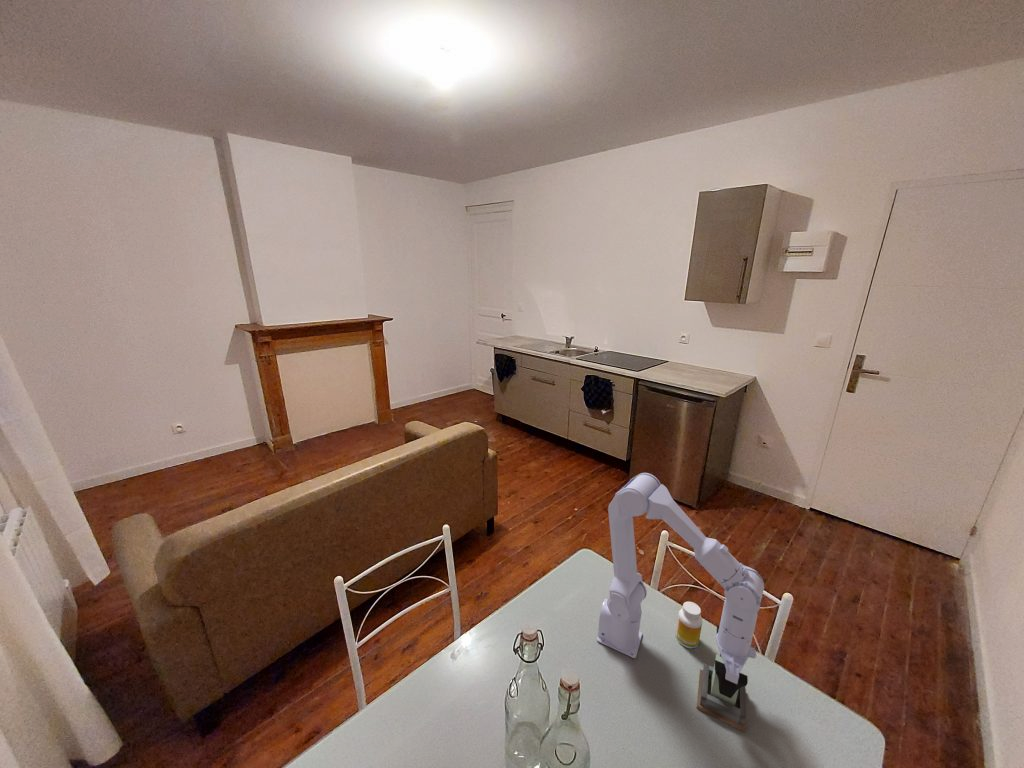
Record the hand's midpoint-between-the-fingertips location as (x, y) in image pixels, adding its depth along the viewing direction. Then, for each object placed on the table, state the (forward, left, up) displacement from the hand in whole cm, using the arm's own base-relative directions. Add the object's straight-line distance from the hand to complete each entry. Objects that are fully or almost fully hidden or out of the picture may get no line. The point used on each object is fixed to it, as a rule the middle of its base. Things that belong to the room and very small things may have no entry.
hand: (725, 677), depth 81 cm
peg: (0, 0, -5) cm, 5 cm away
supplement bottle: (-8, +12, -6) cm, 16 cm away
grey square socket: (0, 0, -6) cm, 6 cm away
